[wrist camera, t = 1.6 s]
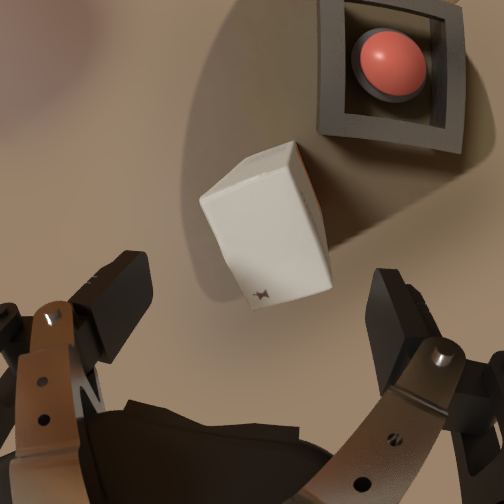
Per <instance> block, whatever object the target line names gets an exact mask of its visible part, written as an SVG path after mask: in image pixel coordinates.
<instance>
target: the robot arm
mask: <svg viewBox="0 0 504 504" xmlns="http://www.w3.org/2000/svg"><path fill="white" fill-rule="evenodd" d="M152 298H153V286H152V281H151V275H150V269H149V263H148V257H147V254H146V253H145V252H141V251H130V250H126V251H124V252H123V253H121V254H120V255H119V256H118V257H117V258H116V259H115V260H114V261H113V262H112V263H110V264H108V265H106V266H104V267H102V268H101V269H100V270H99V271H98V272H97V273H96V274H94V276H93V277H91V278H90V279H89V280H88V281H87V283H86V284H84V285H83V286H82V287H81V288H80V289H79V290H78V291H77V292H76V293H75V294H74V295H73V296H72V297H71V298H70V299H69V300H68V301H67V302H66V301H54V302H50V303H48V304H46V305H44V306H42V307H41V308H39V309H38V310H37V311H36V313H35V314H34V316H21V315H20V312H19V310H18V307H17V306H16V304H14V303H3V304H0V352H1V353H2V355H3V357H4V359H5V360H6V362H7V364H8V365H9V368H8V369H7V370H6V371H5V373H4V374H3V375H2V377H1V378H0V449H1V447H2V445H3V443H4V442H5V440H6V438H7V437H8V435H9V433H10V431H11V430H12V428H13V426H14V425H15V439H16V451H14V452H11V453H9V454H7V455H4V456H2V457H0V504H399V502H400V501H401V499H402V498H403V496H404V495H405V493H406V492H407V490H408V489H409V487H410V485H411V484H412V482H413V480H414V479H415V477H416V476H417V474H418V472H419V471H420V469H421V467H422V465H423V464H424V462H425V460H426V458H427V457H428V455H429V453H430V451H431V449H432V447H433V445H434V443H435V441H436V439H437V438H438V435H439V433H440V431H441V429H442V430H448V431H451V435H452V440H453V445H454V451H455V456H456V461H457V467H458V474H459V481H460V489H461V497H462V504H504V351H498V352H496V353H494V354H493V355H492V357H491V359H490V361H489V363H488V364H486V363H481V362H476V361H472V360H468V359H466V356H465V353H464V351H463V350H462V348H461V347H460V346H459V345H458V344H457V343H455V342H454V341H452V340H450V339H447V338H444V337H442V335H441V333H440V331H439V329H438V327H437V325H436V323H435V321H434V319H433V317H432V315H431V313H429V309H428V307H427V305H426V304H425V301H424V299H423V297H422V295H421V293H420V292H419V291H417V290H416V289H415V288H414V287H413V286H412V285H411V284H405V283H404V281H403V279H402V277H401V275H400V273H399V271H398V270H397V269H382V268H376V270H375V272H374V275H373V280H372V284H371V289H370V293H369V298H368V302H367V306H366V313H365V322H366V327H367V332H368V336H369V341H370V346H371V350H372V355H373V360H374V365H375V369H376V375H377V380H378V385H379V391H380V396H382V397H381V399H380V400H379V402H378V403H377V404H376V405H375V407H374V408H373V409H372V411H371V412H370V413H369V415H368V416H367V417H366V418H365V420H364V421H363V422H362V423H361V425H360V426H359V427H358V428H357V429H356V431H355V432H354V433H353V434H352V435H351V437H350V438H349V439H348V440H347V441H346V442H345V444H344V445H343V446H342V447H341V448H340V449H339V451H337V453H336V454H335V455H333V454H331V453H330V452H328V451H327V450H325V449H323V448H321V447H319V446H317V445H315V444H312V443H310V442H307V441H303V440H300V439H299V427H293V426H279V425H267V424H257V423H251V424H239V425H224V426H204V425H202V424H199V423H197V422H194V421H192V420H190V419H188V418H185V417H183V416H181V415H179V414H177V413H174V412H172V411H170V410H168V409H166V408H161V407H157V406H153V405H149V404H145V403H141V402H137V401H133V400H128V402H127V404H126V406H125V408H124V410H116V411H115V410H114V411H106V410H105V407H104V402H103V398H102V393H101V388H100V383H99V378H98V373H97V370H96V367H95V364H96V363H97V361H100V362H104V363H108V364H111V363H112V362H113V360H114V359H115V357H116V356H117V354H118V353H119V351H120V349H121V348H122V346H123V345H124V343H125V342H126V340H127V339H128V337H129V336H130V334H131V333H132V331H133V330H134V328H135V327H136V325H137V324H138V322H139V321H140V319H141V318H142V316H143V315H144V313H145V312H146V311H147V309H148V308H149V306H150V304H151V302H152ZM496 421H497V422H498V425H499V428H500V431H501V435H502V439H503V444H502V449H500V445H499V442H498V438H497V435H496V431H495V428H494V424H495V423H496Z"/></svg>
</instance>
